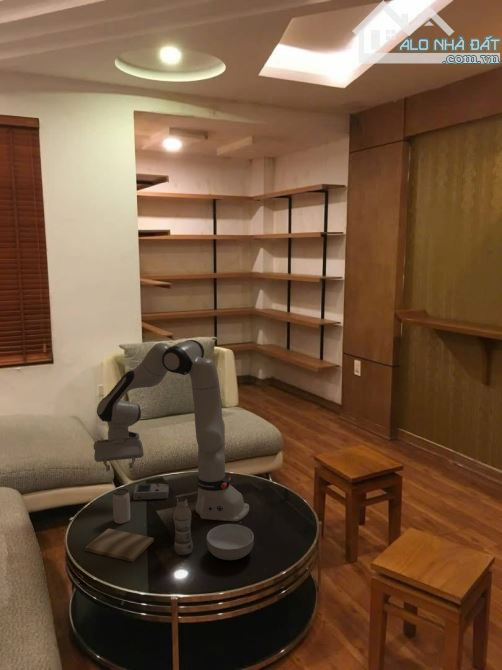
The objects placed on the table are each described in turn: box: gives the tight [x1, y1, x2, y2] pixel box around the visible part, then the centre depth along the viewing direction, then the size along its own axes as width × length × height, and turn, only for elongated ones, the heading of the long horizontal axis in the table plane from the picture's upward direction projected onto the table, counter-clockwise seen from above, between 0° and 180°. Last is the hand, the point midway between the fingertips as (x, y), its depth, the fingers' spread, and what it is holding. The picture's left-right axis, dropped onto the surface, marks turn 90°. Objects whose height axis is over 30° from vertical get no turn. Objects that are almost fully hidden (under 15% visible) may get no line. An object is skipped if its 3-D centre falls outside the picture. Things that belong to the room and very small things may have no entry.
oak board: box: [84, 528, 155, 562], centre depth 192 cm, size 20×14×1 cm
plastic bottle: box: [172, 497, 194, 556], centre depth 185 cm, size 6×7×20 cm
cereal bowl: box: [206, 523, 255, 561], centre depth 185 cm, size 17×17×7 cm
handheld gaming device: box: [132, 483, 170, 501], centre depth 231 cm, size 9×15×4 cm, turn 94°
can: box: [112, 488, 131, 525], centre depth 209 cm, size 6×6×12 cm
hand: (119, 468), depth 219 cm, fingers open, 8 cm apart
